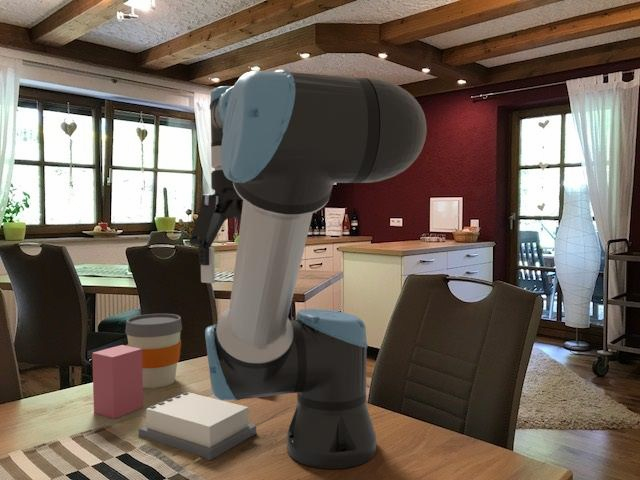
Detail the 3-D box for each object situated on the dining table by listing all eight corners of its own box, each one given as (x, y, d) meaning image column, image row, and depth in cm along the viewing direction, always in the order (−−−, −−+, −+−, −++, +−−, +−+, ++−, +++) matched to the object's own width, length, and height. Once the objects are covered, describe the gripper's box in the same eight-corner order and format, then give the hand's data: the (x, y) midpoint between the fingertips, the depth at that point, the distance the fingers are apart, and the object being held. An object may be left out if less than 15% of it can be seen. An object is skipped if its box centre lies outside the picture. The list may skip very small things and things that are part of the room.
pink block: (143, 407, 109) (141, 348, 108) (113, 418, 103) (112, 357, 102) (123, 401, 112) (122, 344, 111) (93, 412, 106) (92, 352, 105)
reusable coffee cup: (194, 380, 127) (193, 317, 126) (151, 395, 116) (149, 327, 115) (158, 371, 134) (157, 311, 133) (114, 385, 123) (113, 320, 122)
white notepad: (256, 433, 97) (256, 405, 97) (210, 460, 87) (209, 428, 86) (187, 414, 106) (187, 388, 106) (138, 436, 96) (138, 408, 95)
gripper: (255, 173, 117) (256, 270, 118) (168, 166, 96) (170, 284, 97) (283, 172, 113) (284, 272, 115) (199, 165, 92) (201, 288, 93)
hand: (231, 278), depth 106 cm, fingers open, 13 cm apart
